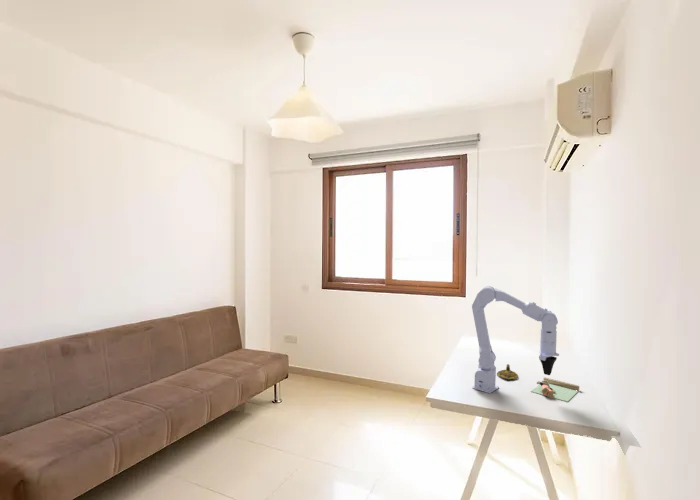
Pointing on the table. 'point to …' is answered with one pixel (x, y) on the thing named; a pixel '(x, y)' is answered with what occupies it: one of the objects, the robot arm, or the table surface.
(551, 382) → the beech stop strip
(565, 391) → the felt mat
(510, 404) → the table surface
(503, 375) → the seal
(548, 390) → the grandmother figurine
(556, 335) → the robot arm
